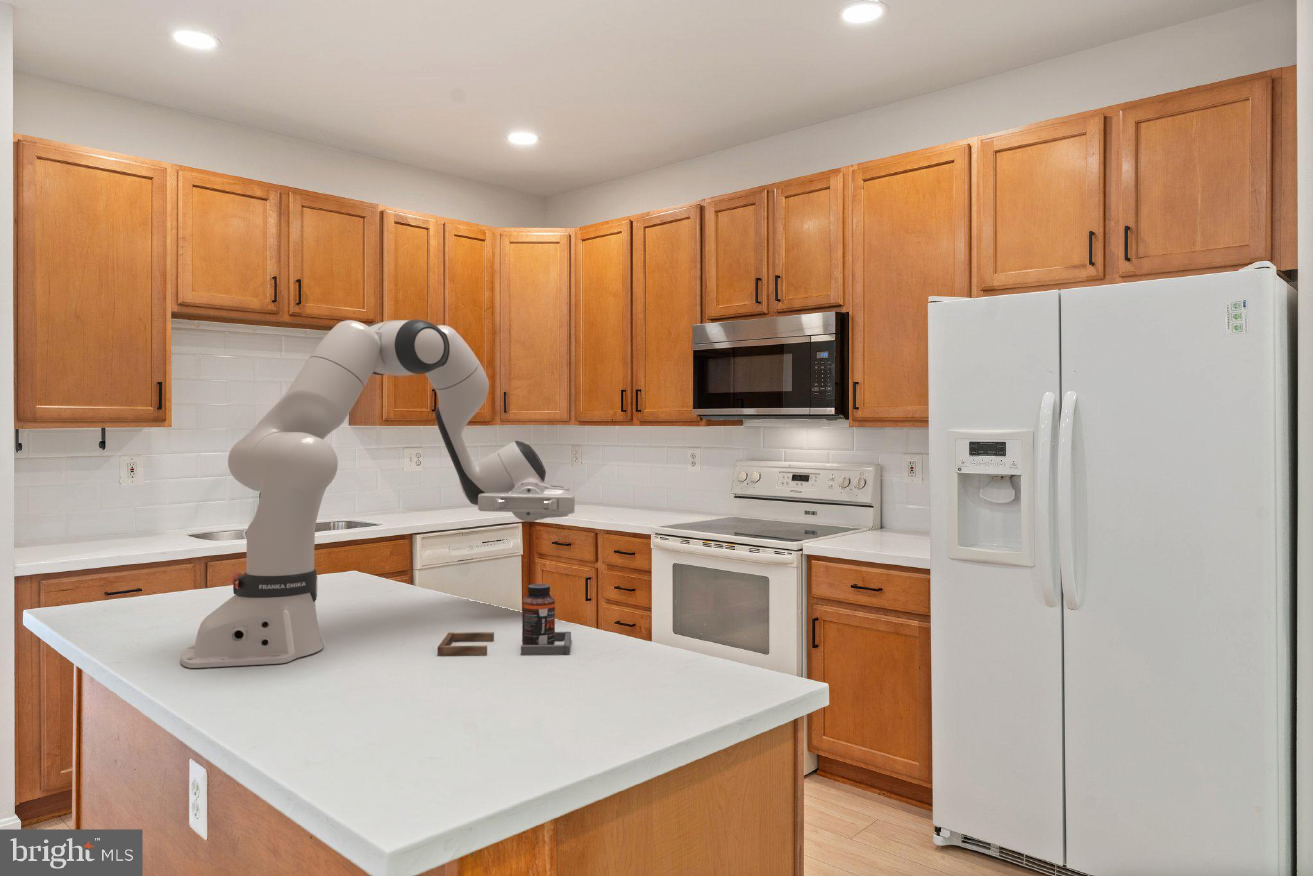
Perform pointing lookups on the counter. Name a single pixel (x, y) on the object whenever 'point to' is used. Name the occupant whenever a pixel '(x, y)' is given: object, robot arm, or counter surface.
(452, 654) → the walnut bay
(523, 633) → the supplement bottle
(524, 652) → the charcoal bay
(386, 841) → the counter surface
